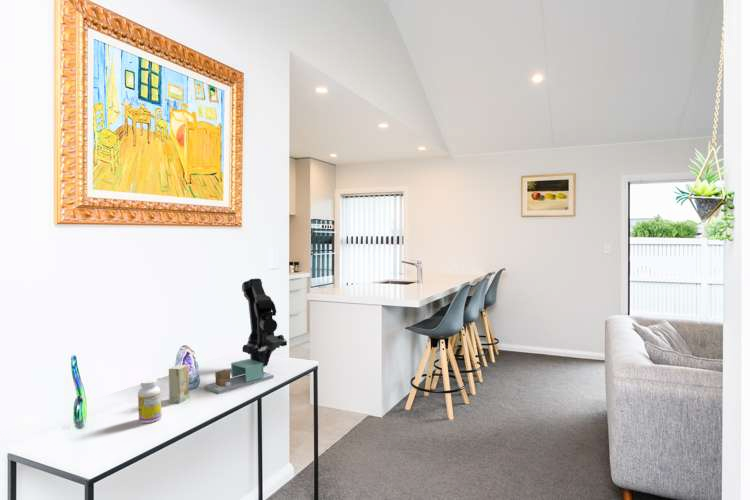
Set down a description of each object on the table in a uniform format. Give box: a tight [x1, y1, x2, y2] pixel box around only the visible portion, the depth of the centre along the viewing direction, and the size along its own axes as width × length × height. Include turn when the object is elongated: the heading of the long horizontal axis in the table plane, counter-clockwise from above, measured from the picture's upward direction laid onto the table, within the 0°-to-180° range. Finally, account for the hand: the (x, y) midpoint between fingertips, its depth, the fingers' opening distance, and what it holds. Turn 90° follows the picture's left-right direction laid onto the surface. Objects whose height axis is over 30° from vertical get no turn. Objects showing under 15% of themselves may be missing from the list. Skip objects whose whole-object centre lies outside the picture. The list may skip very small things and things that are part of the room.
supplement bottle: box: [137, 378, 163, 424], centre depth 153 cm, size 7×7×13 cm
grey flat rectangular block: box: [204, 371, 275, 394], centre depth 190 cm, size 10×25×3 cm, turn 138°
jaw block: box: [214, 369, 231, 387], centre depth 185 cm, size 4×4×5 cm
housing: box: [230, 358, 264, 382], centre depth 193 cm, size 11×8×6 cm
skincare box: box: [168, 364, 190, 404], centre depth 171 cm, size 6×4×12 cm
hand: (265, 365), depth 200 cm, fingers closed
